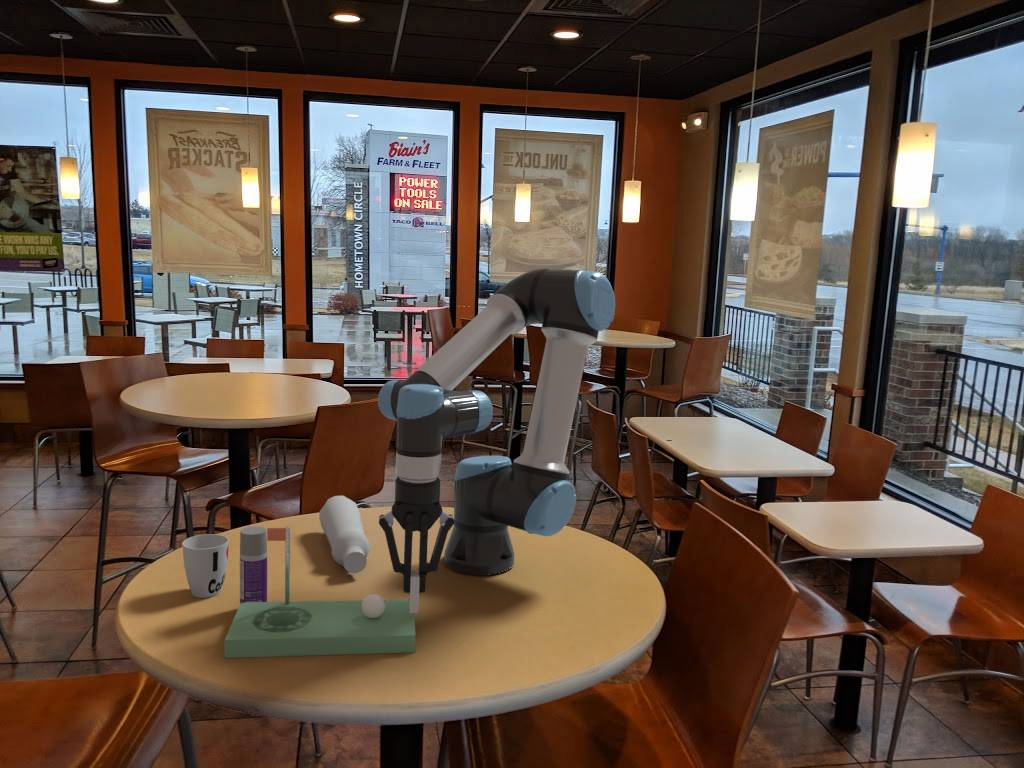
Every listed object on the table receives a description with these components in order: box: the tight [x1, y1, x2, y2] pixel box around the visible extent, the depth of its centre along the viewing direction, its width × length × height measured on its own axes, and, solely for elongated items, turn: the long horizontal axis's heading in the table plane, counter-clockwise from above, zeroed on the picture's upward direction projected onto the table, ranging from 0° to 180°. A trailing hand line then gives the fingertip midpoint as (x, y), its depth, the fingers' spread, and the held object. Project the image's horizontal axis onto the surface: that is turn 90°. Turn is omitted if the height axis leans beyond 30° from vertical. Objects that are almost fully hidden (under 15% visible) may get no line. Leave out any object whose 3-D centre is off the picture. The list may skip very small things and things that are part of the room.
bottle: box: [318, 495, 370, 574], centre depth 172 cm, size 9×9×30 cm
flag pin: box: [266, 525, 291, 605], centre depth 138 cm, size 4×1×14 cm, turn 99°
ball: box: [362, 593, 385, 618], centre depth 135 cm, size 4×4×4 cm
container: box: [239, 525, 268, 604], centre depth 141 cm, size 5×5×15 cm
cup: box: [181, 533, 230, 599], centre depth 148 cm, size 8×8×10 cm
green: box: [224, 599, 417, 659], centre depth 134 cm, size 30×14×3 cm, turn 99°
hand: (413, 609), depth 136 cm, fingers closed
